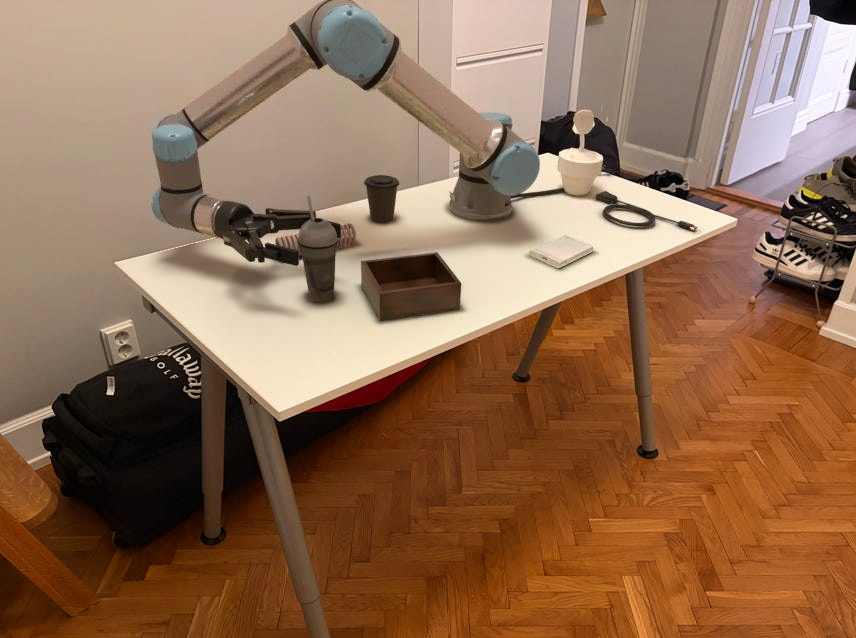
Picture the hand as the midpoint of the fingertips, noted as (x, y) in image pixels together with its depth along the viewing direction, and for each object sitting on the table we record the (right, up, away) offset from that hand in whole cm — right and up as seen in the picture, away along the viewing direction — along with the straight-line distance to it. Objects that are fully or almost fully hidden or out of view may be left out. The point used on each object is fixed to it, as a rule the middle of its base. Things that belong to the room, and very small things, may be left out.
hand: (319, 244), depth 131 cm
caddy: (+16, -9, +8) cm, 20 cm away
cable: (+68, +14, +47) cm, 84 cm away
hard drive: (+48, +2, +28) cm, 55 cm away
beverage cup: (-1, -9, +6) cm, 11 cm away
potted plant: (+56, +24, +61) cm, 86 cm away
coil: (-5, +2, +22) cm, 23 cm away
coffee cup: (+7, +12, +38) cm, 41 cm away
